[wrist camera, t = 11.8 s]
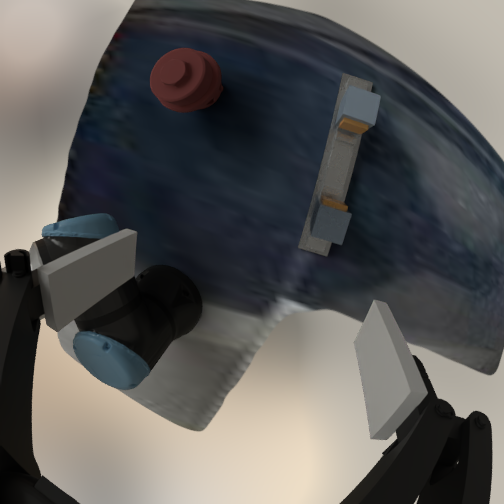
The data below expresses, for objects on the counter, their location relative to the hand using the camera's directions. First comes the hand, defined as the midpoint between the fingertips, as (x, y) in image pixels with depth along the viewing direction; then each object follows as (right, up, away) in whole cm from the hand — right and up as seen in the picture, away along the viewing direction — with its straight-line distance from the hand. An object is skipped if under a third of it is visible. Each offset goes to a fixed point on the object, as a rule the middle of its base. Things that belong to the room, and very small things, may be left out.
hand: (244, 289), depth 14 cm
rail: (+14, +16, +26) cm, 33 cm away
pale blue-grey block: (+15, +22, +21) cm, 34 cm away
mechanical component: (-8, +29, +26) cm, 40 cm away
